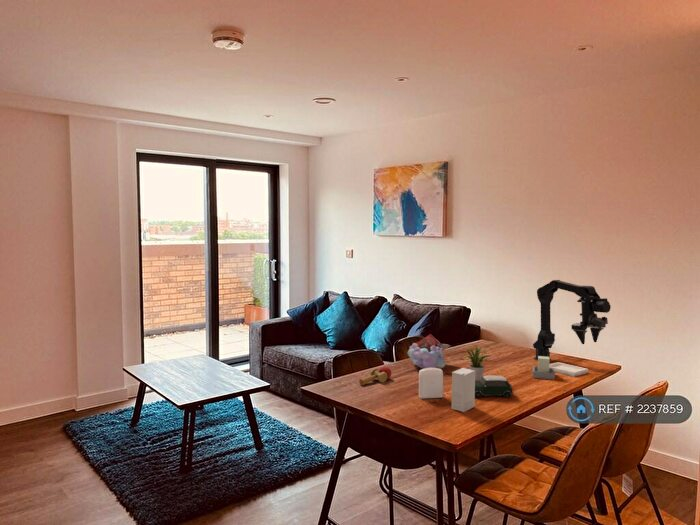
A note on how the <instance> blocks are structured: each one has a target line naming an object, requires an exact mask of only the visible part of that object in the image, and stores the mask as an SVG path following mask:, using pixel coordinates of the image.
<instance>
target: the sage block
mask: <svg viewBox="0 0 700 525" xmlns="http://www.w3.org/2000/svg"><path fill="white" fill-rule="evenodd" d="M550 359H551V358H550ZM550 359H549V357H544V356H538V360H537V367H538V372H549V364H551V363H550V361H551V360H550Z"/></svg>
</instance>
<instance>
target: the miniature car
mask: <svg viewBox="0 0 700 525" xmlns="http://www.w3.org/2000/svg"><path fill="white" fill-rule="evenodd" d="M513 394H514V390H513V386H512V385H511V383H510V382H509V381H508V378H506V377H504V376H503V375H502V376H501V375H483V377H482V379H481V380H480V381H475V399H480V398H482V395H483V396H503V397H504V398H505V399H510V398H511V397H512V395H513Z"/></svg>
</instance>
